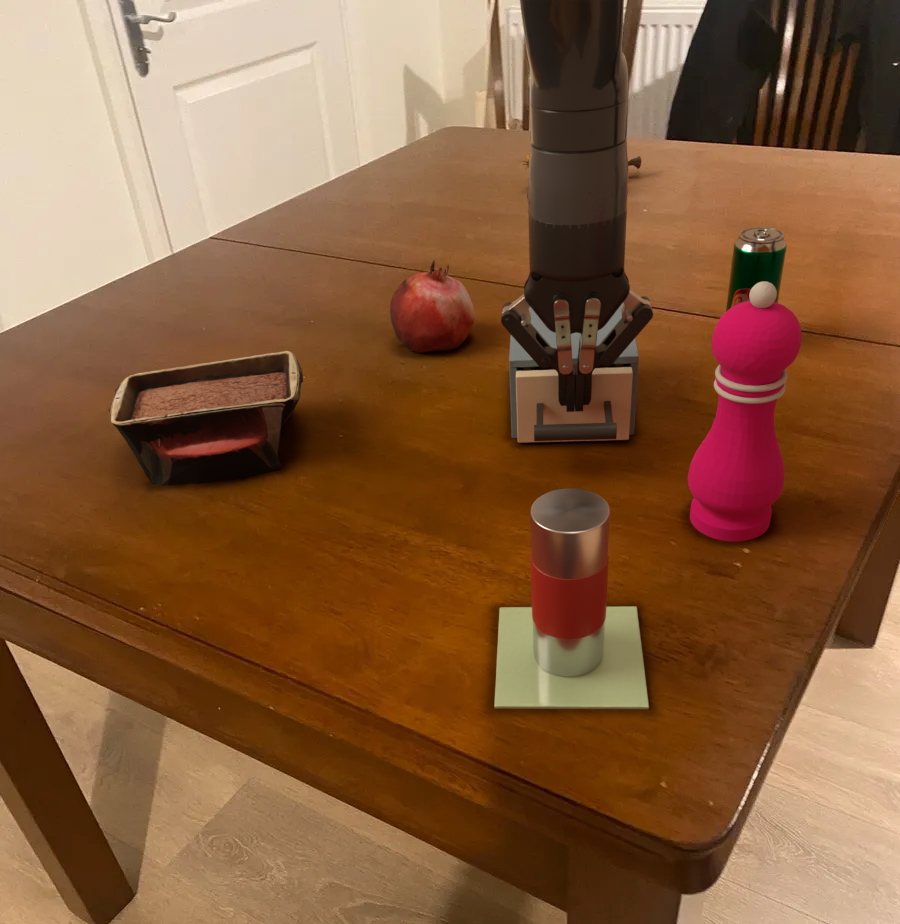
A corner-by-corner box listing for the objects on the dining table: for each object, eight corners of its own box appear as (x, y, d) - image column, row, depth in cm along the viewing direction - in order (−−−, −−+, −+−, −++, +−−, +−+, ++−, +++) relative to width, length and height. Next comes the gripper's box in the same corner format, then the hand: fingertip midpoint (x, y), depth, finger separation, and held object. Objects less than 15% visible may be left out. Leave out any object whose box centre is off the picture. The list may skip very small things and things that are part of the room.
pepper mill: (665, 527, 75) (688, 287, 62) (715, 489, 79) (746, 255, 66) (743, 562, 71) (785, 312, 58) (792, 520, 74) (842, 277, 62)
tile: (636, 614, 67) (636, 605, 67) (648, 715, 60) (649, 706, 59) (499, 614, 68) (499, 606, 68) (494, 714, 61) (494, 706, 60)
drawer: (633, 472, 80) (637, 403, 76) (516, 474, 81) (514, 407, 77) (620, 377, 94) (623, 314, 89) (520, 381, 95) (518, 318, 90)
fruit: (377, 349, 105) (366, 262, 99) (441, 322, 109) (434, 237, 103) (427, 373, 99) (418, 282, 93) (492, 344, 104) (488, 256, 97)
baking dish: (163, 438, 97) (118, 356, 90) (325, 398, 95) (292, 311, 88) (142, 525, 86) (90, 440, 79) (324, 482, 85) (286, 390, 78)
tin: (602, 629, 65) (608, 486, 57) (606, 678, 61) (613, 532, 54) (532, 629, 65) (529, 488, 58) (532, 678, 62) (529, 534, 54)
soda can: (720, 357, 97) (735, 242, 90) (721, 336, 101) (735, 225, 93) (770, 358, 96) (789, 242, 88) (770, 338, 100) (787, 225, 92)
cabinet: (633, 439, 86) (639, 356, 80) (511, 443, 87) (509, 360, 82) (623, 374, 96) (628, 295, 91) (514, 377, 97) (512, 300, 92)
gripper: (489, 225, 68) (498, 431, 79) (670, 215, 67) (654, 426, 78) (492, 194, 74) (501, 390, 85) (660, 184, 72) (646, 385, 83)
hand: (574, 407), depth 81 cm, fingers closed
